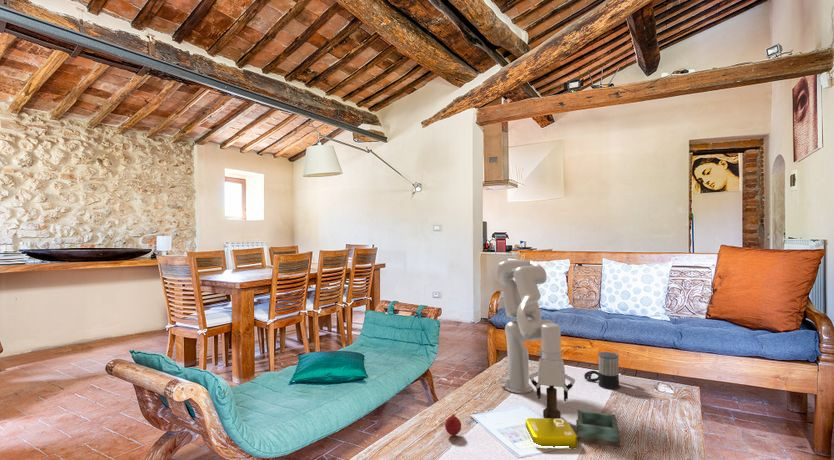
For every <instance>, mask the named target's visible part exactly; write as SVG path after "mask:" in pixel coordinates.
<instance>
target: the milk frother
mask: <svg viewBox="0 0 834 460" xmlns="http://www.w3.org/2000/svg"><path fill="white" fill-rule="evenodd" d="M597 355H598V371H597V370H589V371H587V372H585V373H584V375H583V376H584V380H587V381H589V382H598V386H599V387H601V388H603V389H606V390H618V389H620V387H621V385H620V378H619V377H620V375H619V373H620V371H619V368H620V366H619V357H620V355H619V354H618V353H615V352H608V351H602V352H601V351H600V352H598V353H597ZM593 374H594V375H596V376H597V377H596V378H592V375H593Z"/></svg>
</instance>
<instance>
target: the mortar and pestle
mask: <svg viewBox="0 0 834 460" xmlns="http://www.w3.org/2000/svg"><path fill="white" fill-rule="evenodd" d="M545 389H546V407H545V408H544V409H543V411H542V413H543V414H542V416H543V417H542V418H562V416H561V415H562V413H561V411H560V410H559V409H558V400H557V399H558V397H557V396H558V395H557V394H558V393H557V392H558V390H557V388H556V387H555V386H547V387H546V388H545Z"/></svg>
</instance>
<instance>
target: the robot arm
mask: <svg viewBox="0 0 834 460" xmlns="http://www.w3.org/2000/svg"><path fill="white" fill-rule="evenodd" d="M496 276H497V280H498V283H499V285H500V288H501V290H502V297H503V304H504V310H505V314H506V316H507V318H511V319H515V318H516V320H512V321H508V322H507V323H506V324H505V326H504V333H505V338H506V346H507V347H506V348H507V349H506V351H507V377H500V376H499V377H498V382H500V384H504V389H505V388H506V389H507V390H508V392H510V391H511V392H510V393H513V392H516V393H515V394H528V392H529V393H531V392H532V391H533V386H534V387H535V388H536V397H538V399H539V400H540V399H541V396H542V394H541V392H542V391H541V387H542V386H547V387H549V386H554V387H555V388H556V387H558V388H562V389H563V402H567V400H569V399H568V398H569V393H568V392H569V391H570V389H572V388H573V386H574V385H575V383H576V379H575V378H573V377H571V376H569V375H568V374H566V371H565V370H566V369H565V363H564V359H563V358H562V343H561V342H562V341H561V340H562V339H561V337H562V336H561V334H562V333H561V326H560V325H559V324H557V323H554V322H553V321H552V320H551V319H542V316H541V310H540V305H539V303H538V301H540V300H541V297H542V295H541V293H540V289H539V287H538V285H542V284H545V283H546V281H547V277H548V276H547V272H546V269H545V268H544V267H543V266H542V265H541V264H539V263H538V262H536V261H534V260H531V259H510V260H508V259H507V260H504V261H500V262H499V263H498V264H497V267H496ZM539 340H540V351H537V354H536V355H538V356H540V357H539V359H538V364H537V369H538V370H537V371H536V372H533V373H531V374H530V373H529V372H530V371H529V368H530V367H529V362H530V361H529V350H528V347H526V345H525V344H524V342H534V341H539ZM535 378H537V381H536V379H535ZM566 381H569V383H568V384H566ZM530 382H531V384H530ZM532 385H533V386H532ZM506 389H505V390H506ZM507 390H506V391H507ZM530 391H531V392H530Z"/></svg>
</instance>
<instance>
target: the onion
mask: <svg viewBox="0 0 834 460" xmlns="http://www.w3.org/2000/svg"><path fill="white" fill-rule="evenodd" d="M444 427H445V431H446V433H448V434H449V436H452V437H455V436H457V435H458V434H459V433H460V432H461V430H462V423H461V420H460V419H459V418H458V417H457V416H456V414H455V413H451V415H450V416H448V418H447V419H446V420H445V423H444Z"/></svg>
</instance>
